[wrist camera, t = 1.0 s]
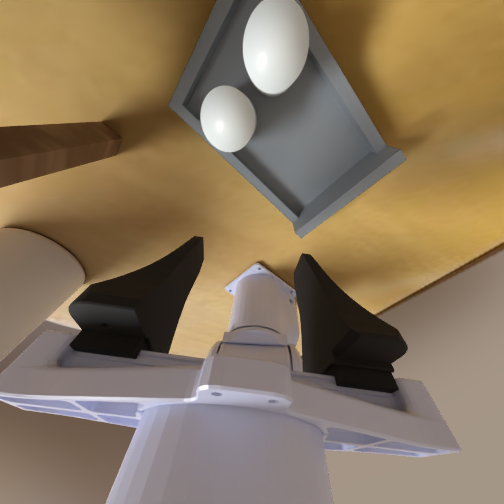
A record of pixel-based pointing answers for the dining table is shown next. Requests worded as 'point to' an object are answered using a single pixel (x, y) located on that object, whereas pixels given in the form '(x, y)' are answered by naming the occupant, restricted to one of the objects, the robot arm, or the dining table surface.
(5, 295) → the cylinder vase
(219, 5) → the tray
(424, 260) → the dining table surface
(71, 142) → the wooden side table
